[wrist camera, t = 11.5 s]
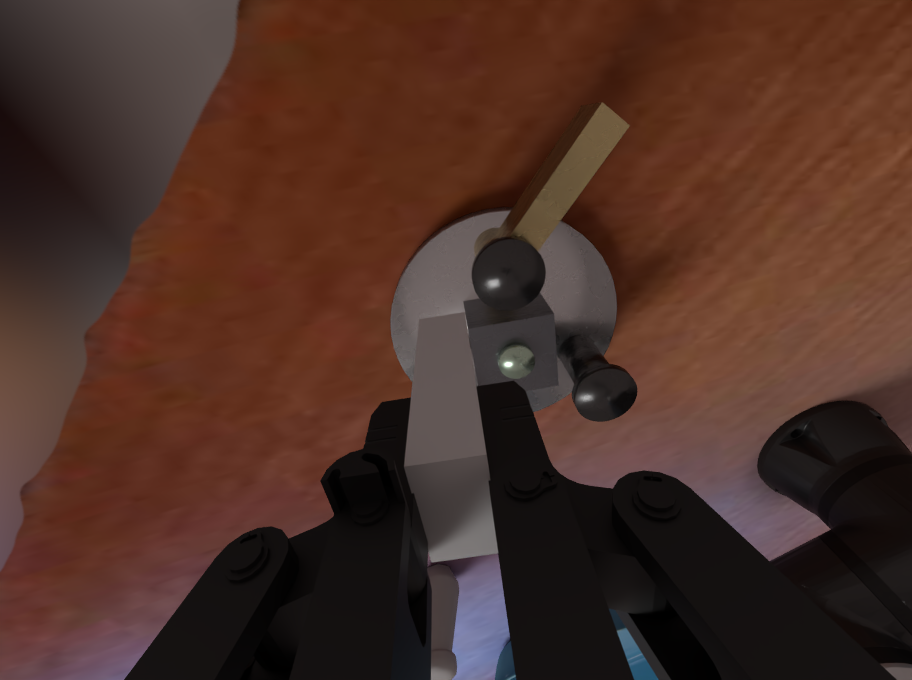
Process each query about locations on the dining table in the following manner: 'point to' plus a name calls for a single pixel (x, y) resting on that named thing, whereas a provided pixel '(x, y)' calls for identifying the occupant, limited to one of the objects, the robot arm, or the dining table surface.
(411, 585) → the robot arm
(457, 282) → the levelling base
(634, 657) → the casserole dish
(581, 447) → the dining table surface
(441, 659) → the salt shaker
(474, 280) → the brass bar with knob
